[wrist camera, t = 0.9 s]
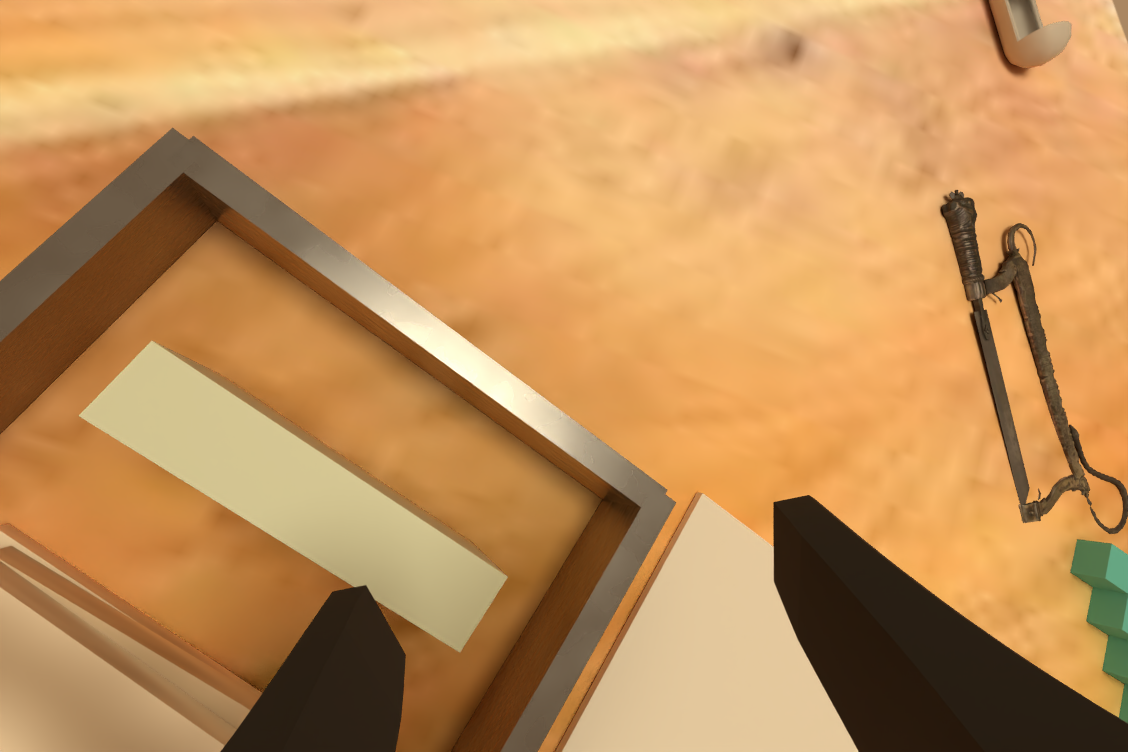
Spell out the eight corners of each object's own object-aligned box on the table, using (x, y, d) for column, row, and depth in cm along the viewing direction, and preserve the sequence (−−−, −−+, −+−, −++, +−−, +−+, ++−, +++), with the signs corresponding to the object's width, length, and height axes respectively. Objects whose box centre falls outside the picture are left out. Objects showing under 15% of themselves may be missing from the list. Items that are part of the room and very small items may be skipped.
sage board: (436, 595, 23) (460, 652, 16) (174, 427, 21) (78, 416, 14) (472, 542, 24) (507, 576, 17) (221, 374, 21) (152, 340, 15)
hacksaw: (930, 197, 36) (952, 186, 34) (1032, 187, 39) (1056, 177, 38) (1029, 569, 34) (1057, 574, 33) (1127, 524, 38) (1156, 527, 36)
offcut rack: (394, 902, 21) (397, 1001, 17) (-220, 590, 17) (-391, 629, 13) (635, 491, 26) (678, 498, 22) (211, 179, 22) (177, 124, 18)
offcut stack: (284, 906, 20) (265, 999, 17) (-130, 658, 18) (-250, 706, 14) (389, 759, 22) (391, 815, 18) (25, 513, 19) (-50, 526, 16)
